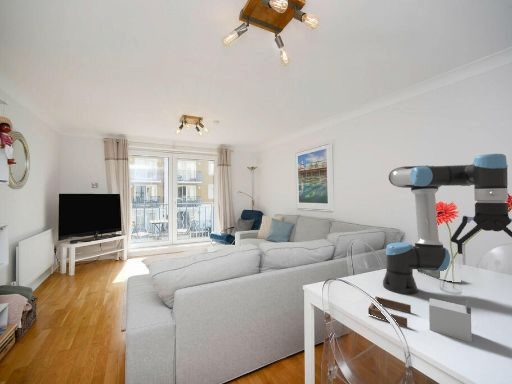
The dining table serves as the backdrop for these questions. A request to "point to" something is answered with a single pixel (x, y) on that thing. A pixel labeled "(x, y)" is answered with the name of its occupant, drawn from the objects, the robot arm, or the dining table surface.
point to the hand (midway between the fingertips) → (492, 268)
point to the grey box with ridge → (450, 319)
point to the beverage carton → (431, 273)
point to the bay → (391, 304)
